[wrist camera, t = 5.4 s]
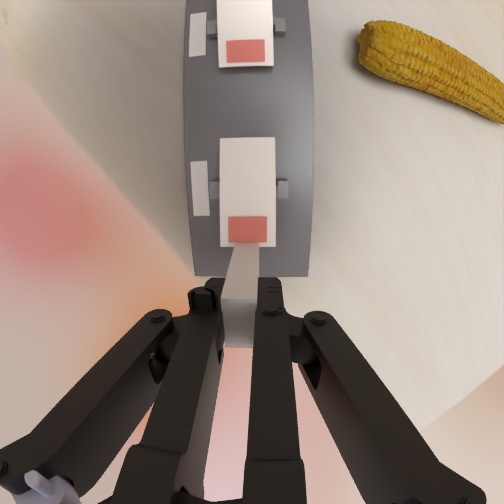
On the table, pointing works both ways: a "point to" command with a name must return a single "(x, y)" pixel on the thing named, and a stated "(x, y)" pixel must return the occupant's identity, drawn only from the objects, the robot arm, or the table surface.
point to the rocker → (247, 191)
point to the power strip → (250, 133)
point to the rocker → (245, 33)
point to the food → (429, 67)
